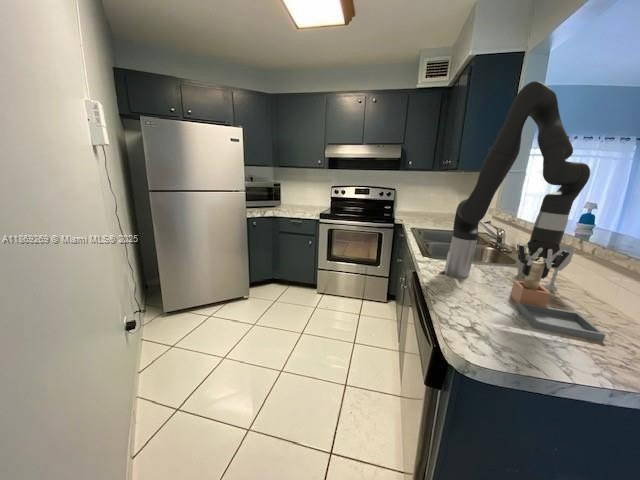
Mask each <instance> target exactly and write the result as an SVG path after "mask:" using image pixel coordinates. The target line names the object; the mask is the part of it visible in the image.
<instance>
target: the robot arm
mask: <svg viewBox="0 0 640 480" xmlns="http://www.w3.org/2000/svg"><path fill="white" fill-rule="evenodd" d="M528 117H530V118H531V119H532V120H533V122H534V123H535V124H536V126H537V130H538V132H537V146H538V148H539V151H540V153H541V156H542V158H543V159H542V161H543V162H542V177H543V179H544V181H545V182H547V184H549V185H552V186H559V188H558V189H557V191H555V192H550V193H547V194H545V195H544V197H543V199H542V202H541V206H540V208H539V211H538V214H537V216H536V217H535V218H536V219H535V221H534V223H533V229H532V232H531V234H530V238H529V241H528V242H527V243H525V244H523V243H521V244H522V245H521V244H520V243H518V244H516V249H517V250H516V253H518V254H517V259H518V262H519V261H521V262H522V263H524V266H523V269H522V273H523V274H524V275H525V276H528V275H529V271H530V268H531V266H530V265H531V264H532V263H533V261H534V260H536V258H538V257H540V258H542V260H543V262H542V263H544V264H545V268H544V271H543V274H542V277H541V280H542V279H543V280H544V279H545V278H547V277H548V275H549V272H550V270H551V269H553V268H554V267H555V268H558V267H559V266H560V265H561V263H562V262H563V261H564V260H565V259H566V258H567V256H568V255H569V252H567V251H565V250H561V249H560V246H559V245H561V243H562V239H563V237H564V234H565V231H566V228H567V225H568V222H569V217H570V213H571V209H572V207H573V203H574V202H575V200H576V198H577V197H578V196H579V195H580V193H581V192H582V190H583V189H584V187H585V186H586V185H587V183H588V182H589V179H590V176H591V169H590V167H589V165H588V164H587V163H584V162H580V161H579V162H577V161H566V160H568V159H569V158H570V157H571V156H572V155H573V153H574V148H573V145H572V142H571V140H570V138H569V136H568V134H567V131H566V129H565V127H564V126H563V123H562V119H561V115H560V111H559V102H558V97H557V94H556V92H555V90H553V89H552V88H550V87H549V86H548V85H546V84H544V83H543V82H541V81H537V80H535V81H534V80H533V81H531V82H529V83H527V84H526V85H524V86H523V87H522V88H520V91H518V93H517V95H516V96H515V98H514V100H513V102H512V104H511V106H510V109H509V111H508V114H507V116H506V118H505V121H504V123H503V125H502V127H501V129H500V131H499V133H498V134H497V137H496V139H495V141H494V143H493V145H492V147H491V148H490V150H489V152H488V154H487V155H486V156H485V159H484V160H483V163H482V164H481V168H480V171H479V174H478V178H477V182H476V184H475V187H474V189H473V190H472V192H471V193H470V194H469V197H468V198H465V199H463V200H461V201H460V203H459V204H458V205H457V207H456V211H455V216H454V222H453V230H452V231H453V233H452V237H451V244H450V247H449V250H448V251H447V257H446V260H445V266H444V270H443V271H444V274H445V276H446V277H451V278H453V279H458V278H463V279H466V278H469V277H470V275H471V274H470V273H471V272H470V271H471V269H472V264H473V261H474V256H475V252H476V246H477V242H478V240H479V239H478V238H479V223H480V221H482V220H483V218H485V216H486V214H487V212H488V209H489V208H490V205H491V203H492V200H493V198H494V196H495V194H496V192H497V191H498V189H499V187H500V186H501V185H502V183H503V181H504V180H505V178H506V177H507V175H508V173H509V172H510V170H511V168H512V167H513V166H514V163H515V162H516V160H517V159H518V157H519V155H520V150H521V142H522V133H523V129H524V125H525V124H526V122H527V119H528ZM527 249H528V250H529V251H530V252H529V253H528V252H527ZM525 251H526V252H527V253H528V255H527V256H526V259H525V253H524V252H525ZM557 252H558V253H557ZM555 253H557V256H556V257H555V259H554V260H553V261H552V255H554V254H555Z"/></svg>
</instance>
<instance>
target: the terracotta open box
mask: <svg viewBox="0 0 640 480" xmlns="http://www.w3.org/2000/svg"><path fill="white" fill-rule="evenodd" d="M523 283H524V281H521V280H515V279H514V280H513V285H512V288H511V291H510V293H509V297H511V299H513V301H514V302H515V303H516V305H518V302H520V303H526V304H531V305H537V306H543V307H547V306H548V302H549V300H550V298H551V297H550V296H551V292H549V290H548V289H547V288H545V287H544V286H543V285H541V284H540V283H539V286H538V289H537V290H531V289H525V288H524V287H523Z"/></svg>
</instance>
